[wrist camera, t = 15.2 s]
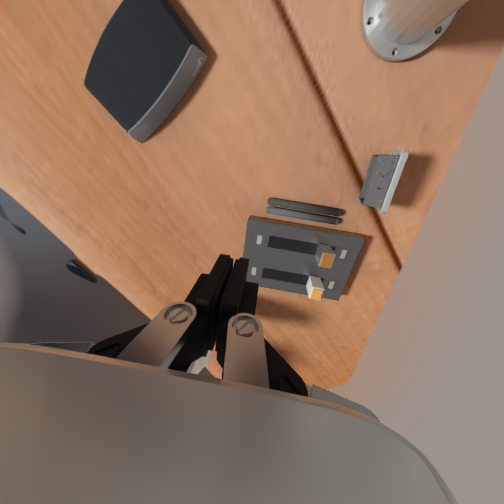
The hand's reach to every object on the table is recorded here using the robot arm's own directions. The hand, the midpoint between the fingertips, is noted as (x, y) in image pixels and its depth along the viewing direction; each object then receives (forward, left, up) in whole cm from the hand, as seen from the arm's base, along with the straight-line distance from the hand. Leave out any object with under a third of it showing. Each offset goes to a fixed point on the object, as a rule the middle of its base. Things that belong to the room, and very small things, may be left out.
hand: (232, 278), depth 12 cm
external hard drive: (-16, -23, -34) cm, 44 cm away
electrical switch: (-5, +20, -33) cm, 39 cm away
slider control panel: (+14, +10, -33) cm, 37 cm away
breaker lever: (+18, +15, -30) cm, 38 cm away
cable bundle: (+3, +9, -33) cm, 34 cm away
